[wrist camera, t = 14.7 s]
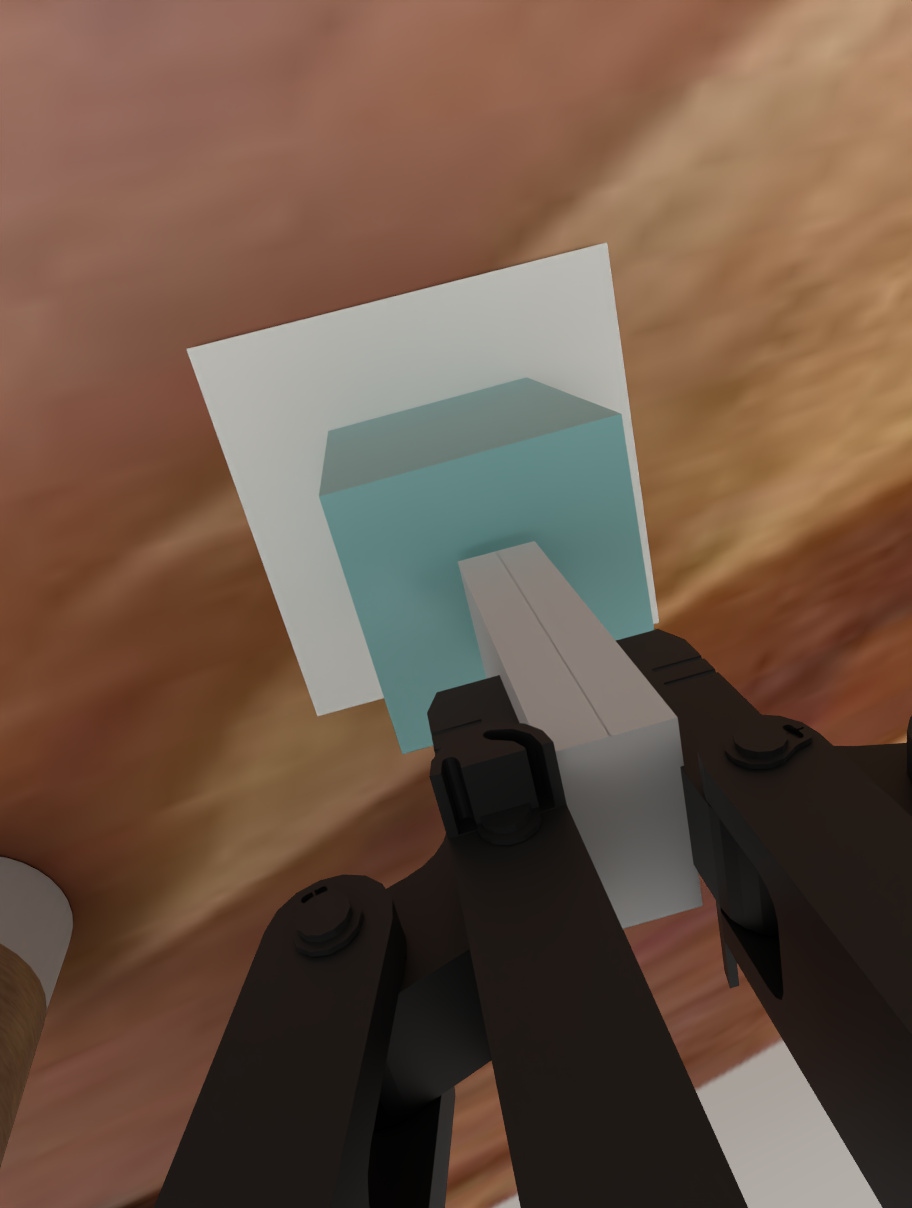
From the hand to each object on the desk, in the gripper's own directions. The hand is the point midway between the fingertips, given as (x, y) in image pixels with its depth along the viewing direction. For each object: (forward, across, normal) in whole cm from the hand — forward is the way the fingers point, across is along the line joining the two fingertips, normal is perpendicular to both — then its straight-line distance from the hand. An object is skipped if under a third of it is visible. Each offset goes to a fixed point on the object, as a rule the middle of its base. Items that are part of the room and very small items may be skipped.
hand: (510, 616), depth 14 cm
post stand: (+10, 0, 0) cm, 10 cm away
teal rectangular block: (+9, 0, 0) cm, 9 cm away
